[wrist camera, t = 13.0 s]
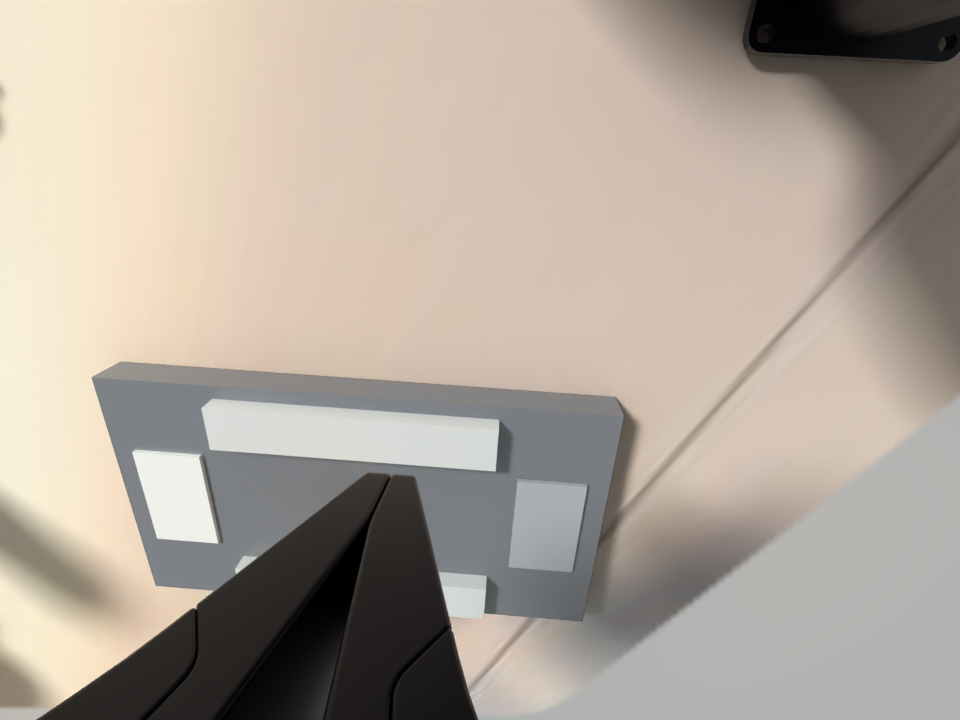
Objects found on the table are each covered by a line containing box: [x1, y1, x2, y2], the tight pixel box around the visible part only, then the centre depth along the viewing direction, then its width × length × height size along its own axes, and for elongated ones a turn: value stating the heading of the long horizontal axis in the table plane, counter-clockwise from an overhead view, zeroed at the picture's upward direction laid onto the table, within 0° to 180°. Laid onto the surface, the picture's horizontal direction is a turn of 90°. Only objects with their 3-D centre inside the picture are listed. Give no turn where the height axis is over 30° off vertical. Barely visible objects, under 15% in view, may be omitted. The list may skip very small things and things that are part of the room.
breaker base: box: [92, 362, 624, 621], centre depth 22 cm, size 22×12×2 cm, turn 87°
